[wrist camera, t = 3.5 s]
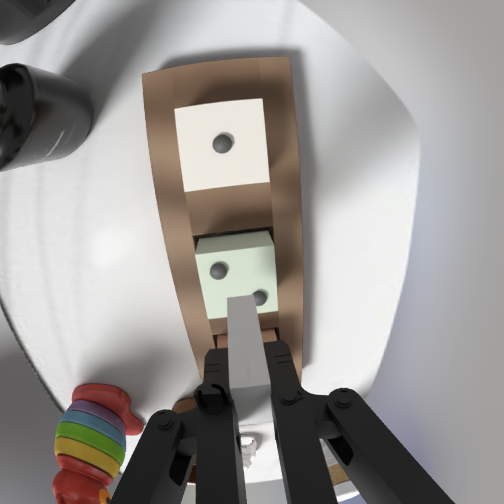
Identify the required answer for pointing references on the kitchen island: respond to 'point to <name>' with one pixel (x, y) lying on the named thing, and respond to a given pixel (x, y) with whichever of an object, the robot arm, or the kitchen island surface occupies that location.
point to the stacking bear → (92, 443)
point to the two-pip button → (237, 271)
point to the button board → (229, 190)
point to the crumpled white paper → (248, 454)
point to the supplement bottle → (40, 116)
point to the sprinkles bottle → (338, 476)
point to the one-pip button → (222, 144)
